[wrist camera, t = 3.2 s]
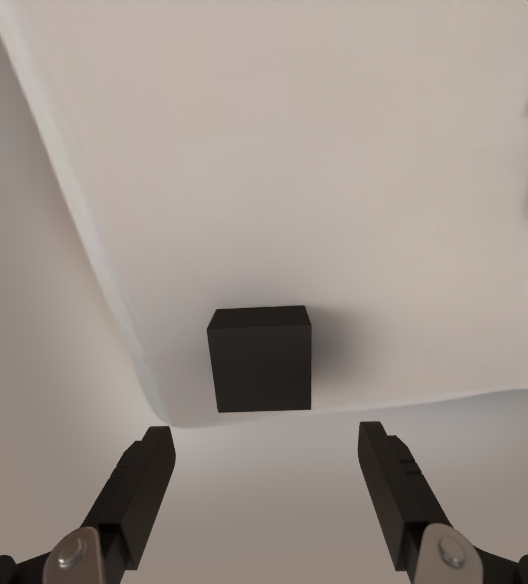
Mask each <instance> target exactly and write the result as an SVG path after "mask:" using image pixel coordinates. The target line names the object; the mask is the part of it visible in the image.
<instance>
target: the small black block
mask: <svg viewBox="0 0 528 584" xmlns="http://www.w3.org/2000/svg"><path fill="white" fill-rule="evenodd" d="M207 336H208V343H209V350H210V357H211V365H212V372H213V379H214V387H215V394H216V401H217V409H218V413H224V412H254V411H285V410H311V323H310V320H309V317H308V314H307V311H306V308H305V306H284V307H262V308H239V309H217V310H216V311H215V313H214V315H213V317H212V320H211V322H210V324H209V326H208V328H207Z"/></svg>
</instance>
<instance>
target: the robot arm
mask: <svg viewBox="0 0 528 584" xmlns="http://www.w3.org/2000/svg"><path fill="white" fill-rule="evenodd" d="M358 458H359V463H360V466H361V469H362V473H363V475H364V478H365V481H366V484H367V487H368V490H369V493H370V496H371V499H372V502H373V505H374V508H375V511H376V514H377V517H378V520H379V523H380V526H381V528H382V532H383V535H384V538H385V541H386V544H387V546H388V549H389V553H390V555H391V558H392V561H393V564H394V567H395V570H396V571H407V574H408V576H409V579H410V582H411V584H528V555H524V556H523V557H522V558H521V559H520V561H519V563H517V562H514V561H511V560H508V559H505V558H502V557H499V556H496V555H493V554H490V553H488V552H485V551H483V550H481V549H479V548H477V547H475V546H474V545H472V544H471V543H470V541H469V540H468V539H467V538H466V537H465V536H463V535H462V534H461V533H459V531H457V530H455V529H454V528H453V526H452V525H451V524H450V522H449V520H448V519H447V517H446V515H445V513H444V511H443V510H442V508H441V506H440V504H439V502H438V501H437V499H436V497H435V495H434V494H433V492H432V490H431V488H430V486H429V484H428V483H427V481H426V479H425V477H424V475H422V473H421V470H420V468H419V467H418V465H417V463H416V462H415V459H414V458H413V456H412V454H411V452H410V450H409V449H408V447H407V446H406V445H405V444H404V443H403V442H402V441H401V440H400V439H399V438H398V437H397V436H396V435H393V436H387V434H386V432H385V430H384V428H383V426H382V424H381V423H380V422H379V421H371V422H360V426H359V439H358ZM175 459H176V454H175V448H174V444H173V439H172V435H171V430H170V427H169V426H153V427H149V428H148V430H147V432H146V434H145V435H144V437H143V439H142V441H135V442H134V443H133V444H132V445H131V446H130V447H129V448H128V449H127V450H126V451H125V452H124V453H123V455H122V457H121V458H120V460H119V462H118V464H117V467H116V468H115V469H114V471H113V472H112V474H111V476H110V479H108V481H107V482H106V484H105V486H104V488H103V489H102V491H101V493H100V494H99V496H98V498H97V499H96V501H95V503H94V505H93V506H92V508H91V510H90V511H89V513H88V515H87V517H86V518H85V520H84V522H83V523H82V525H81V526H80V528H79V529H76V530H75V531H73V532H71V533H70V534H68V535H67V536H65V537H64V538H63V539H62V540H61V541H60V542H59V543H58V544H57V545H56V546H55V547H54V549H53V550H52V551H51V552H48V553H46V554H43V555H40V556H38V557H35V558H32V559H29V560H27V561H24V562H21V563H19V564H16V563H15V561H14V560H13V558H12V557H11V556H8V555H1V556H0V584H120V582H121V579H122V577H123V574H124V572H125V570H137V568H138V566H139V563H140V560H141V557H142V555H143V552H144V549H145V546H146V543H147V541H148V538H149V535H150V532H151V530H152V527H153V524H154V522H155V519H156V516H157V513H158V511H159V508H160V505H161V502H162V500H163V497H164V494H165V491H166V488H167V486H168V483H169V480H170V478H171V475H172V472H173V469H174V465H175Z"/></svg>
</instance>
